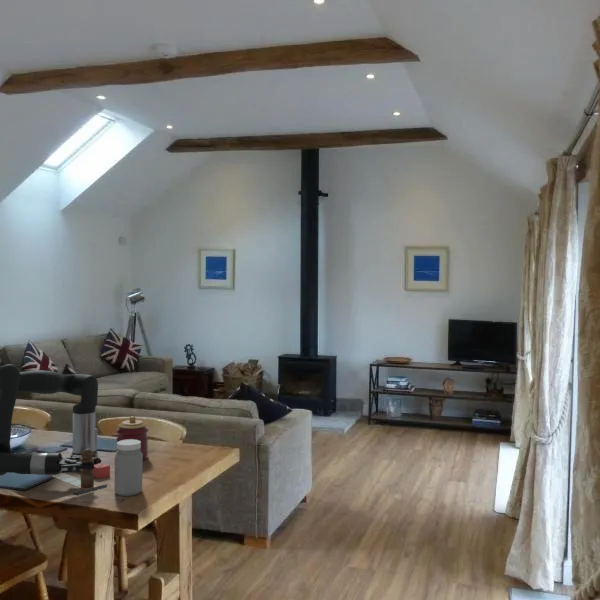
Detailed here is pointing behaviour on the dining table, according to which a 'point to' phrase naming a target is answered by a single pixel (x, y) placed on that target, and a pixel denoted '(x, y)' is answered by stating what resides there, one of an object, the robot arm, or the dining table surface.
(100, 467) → the red die
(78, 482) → the game board
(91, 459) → the walnut pawn
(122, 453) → the jar
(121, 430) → the canister
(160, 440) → the dining table surface
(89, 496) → the dining table surface
